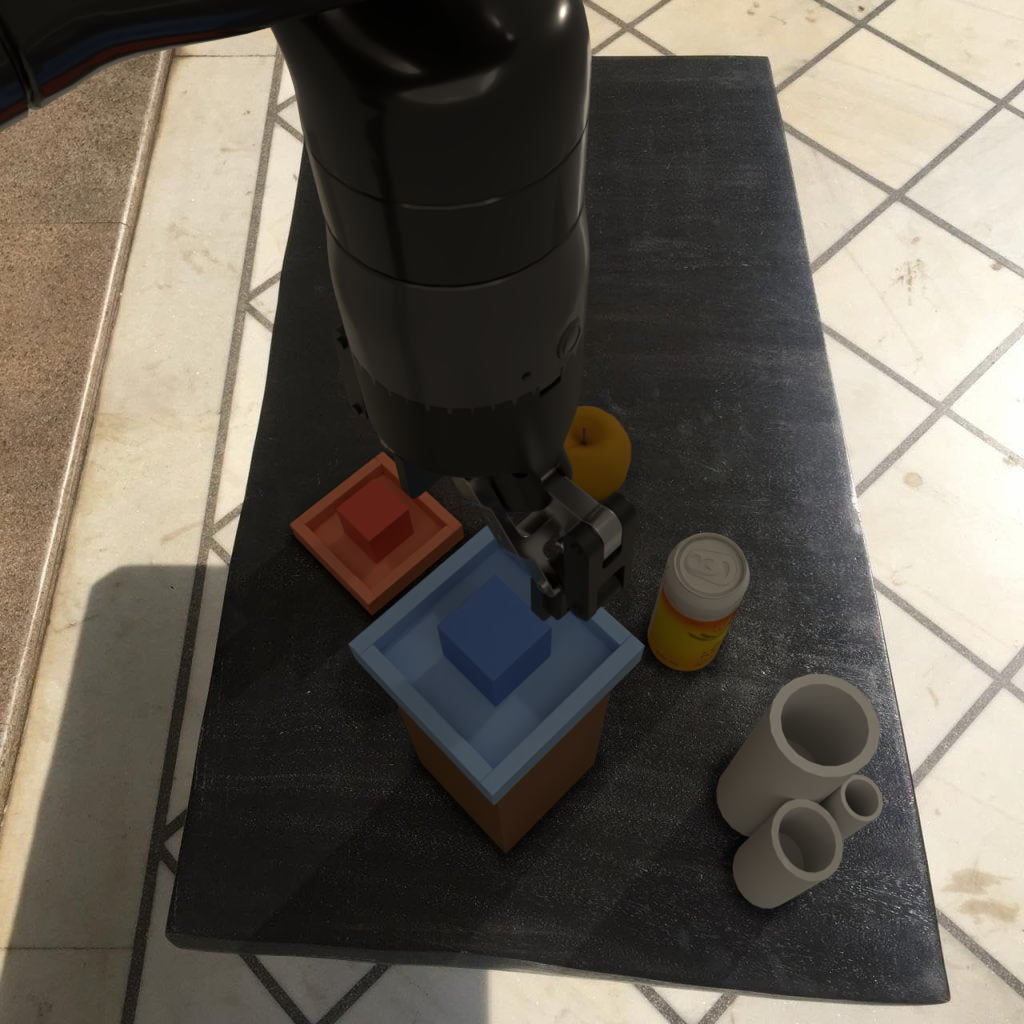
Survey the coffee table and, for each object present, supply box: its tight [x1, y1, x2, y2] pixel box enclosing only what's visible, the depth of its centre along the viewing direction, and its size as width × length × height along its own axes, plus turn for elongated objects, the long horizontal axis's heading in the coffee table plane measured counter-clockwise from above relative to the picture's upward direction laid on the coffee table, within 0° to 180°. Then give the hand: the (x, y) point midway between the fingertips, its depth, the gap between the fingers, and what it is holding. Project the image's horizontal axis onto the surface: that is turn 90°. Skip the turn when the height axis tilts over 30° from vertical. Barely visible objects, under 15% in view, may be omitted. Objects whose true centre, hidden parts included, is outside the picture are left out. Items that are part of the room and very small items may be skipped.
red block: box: [336, 478, 414, 564], centre depth 86 cm, size 4×4×4 cm
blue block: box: [437, 574, 552, 707], centre depth 55 cm, size 4×4×4 cm
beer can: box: [647, 532, 751, 672], centre depth 77 cm, size 6×6×15 cm
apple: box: [564, 405, 632, 502], centre depth 87 cm, size 9×9×9 cm
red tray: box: [289, 451, 465, 616], centre depth 87 cm, size 11×11×2 cm
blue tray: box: [348, 525, 645, 854], centre depth 67 cm, size 12×12×26 cm
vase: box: [715, 673, 884, 909], centre depth 67 cm, size 11×7×20 cm, turn 8°
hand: (487, 541), depth 44 cm, fingers open, 8 cm apart
